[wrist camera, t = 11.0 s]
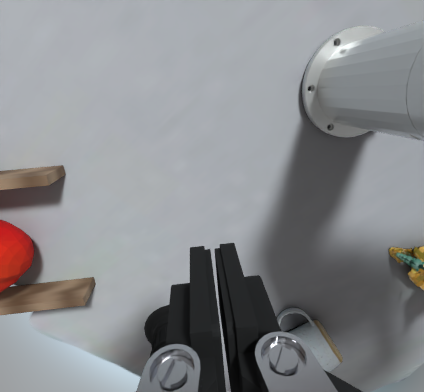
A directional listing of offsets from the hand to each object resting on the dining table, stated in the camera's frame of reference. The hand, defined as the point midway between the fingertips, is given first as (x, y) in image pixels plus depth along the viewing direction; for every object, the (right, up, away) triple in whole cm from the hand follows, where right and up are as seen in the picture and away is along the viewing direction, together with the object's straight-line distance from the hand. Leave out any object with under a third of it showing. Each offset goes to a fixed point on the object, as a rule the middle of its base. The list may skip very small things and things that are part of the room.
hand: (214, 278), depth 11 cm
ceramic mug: (+15, -20, +38) cm, 45 cm away
